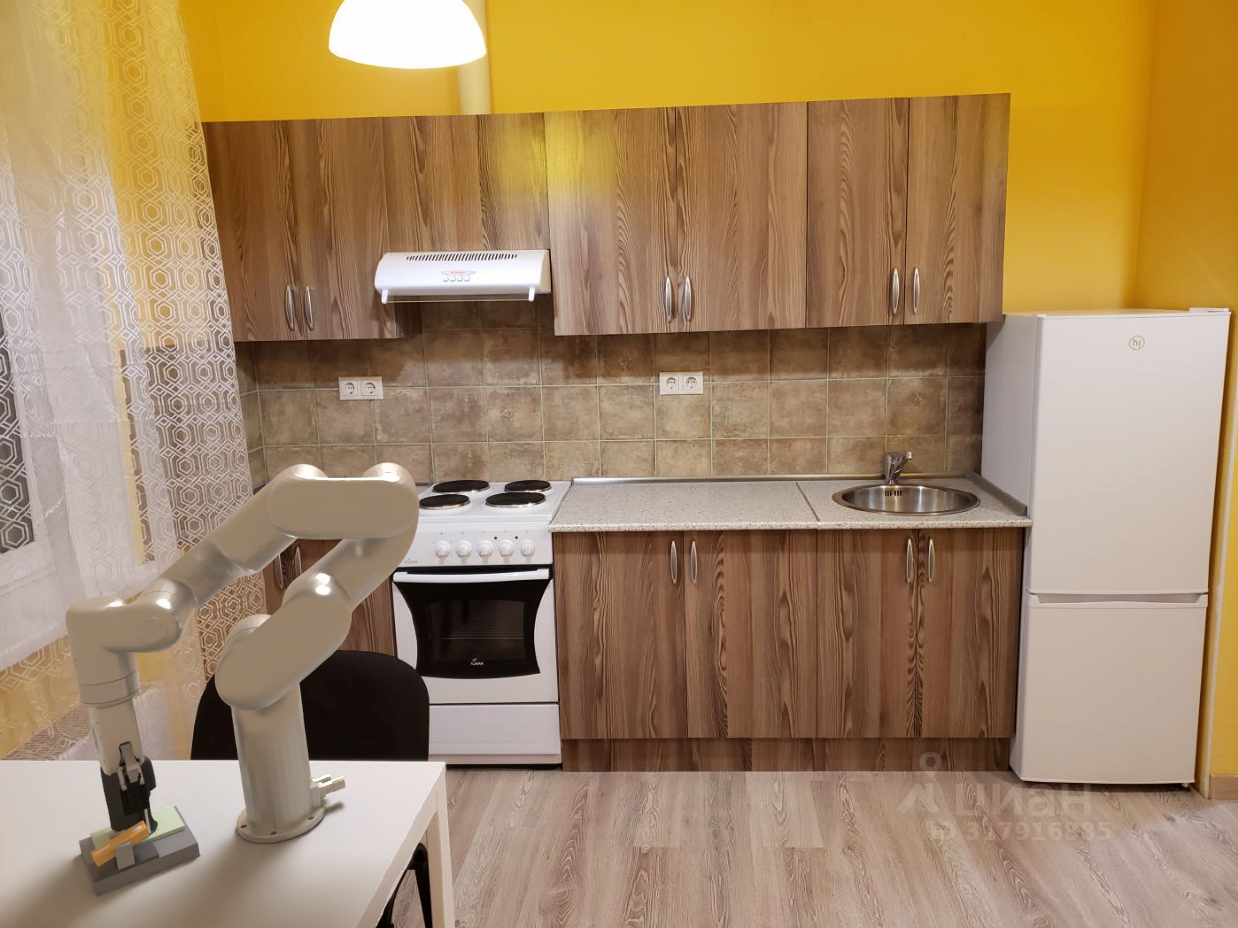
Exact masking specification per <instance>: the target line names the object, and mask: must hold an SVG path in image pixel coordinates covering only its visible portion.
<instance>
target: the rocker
mask: <svg viewBox="0 0 1238 928" xmlns="http://www.w3.org/2000/svg"><path fill="white" fill-rule="evenodd" d="M149 835H150V832H149V830H148V828H147V826H146V825H145V823H144V821H143V820H142V821H141V822H139V823H137V824H136V825H134V826H132V827H131V828H129V829H128V830H126V831H124V832H123V833H121V834H119V835H118V836H116V837H115V838H113V839H111V840H110V841H108V842H106V843H105V844H103V845H101V846H100V847H98V848H97V849H95V850H93V851H92V852H91V855H92V857H93V860H94V862H95V863H96V865H97V867H99V866H100V865H102V864H104V863H105V862H107V861H108V860H110V859H112V858H113V857H115V856H116V855H115V849H114V847H116V846H119V845H121V844H124V843H127V842H130V841H131V844H132V846H133V845H134V844H136V843H137V842H139V841H141V840H142V839H144V838H145V837H147V836H149Z"/></svg>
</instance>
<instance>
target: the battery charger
mask: <svg viewBox="0 0 1238 928" xmlns="http://www.w3.org/2000/svg"><path fill="white" fill-rule="evenodd" d="M143 756H144V762H143V763H142V764H141V765H140V768H141V772H142V775H143V779H144V781H145V784H146V790H147V796H148V801H149V807H148V808H147V809H145V810H142V811H139V812H137V813H134V814H131V815H128V816H125V815H124V814H123V809H122V804H121V798H120V793H119V789H121V785H120V782H119V778H118V774H117V772H116V773H112V775H110V776H109V775H106V774H105V773H104V771H103V769H102V767H101V765H99V766H100V767H99V768H100V779H101V785H102V788H103V793H104V799H105V803H106V806H107V807H106V808H107V813H108V817H109V818H108V819H109V824H110V825H109V826H111V829H112V830H115V831H118V832H120V831H122V830H125V831H126V830H128V829H129V828H131V827H132V826H134V825H136V824H137V823H139V822H141V821H142V820H143V821H144V823H145V825H146V826H147V828H148V830H149V832H150V833H151V832H152V831H154V830H155V829H156V828H157V826H158V822H157V821H155V820H154V819H153V817H152V814H151V811H152V810H151V803H150V801H151V800H150V799H151V798H150V797H151V795H152V793H151V792H152V791H153V790H154V789H156V788H157V780H156V776H155V770H154V766H153V763H152V760H151V759H150V758H149V757H148V756H146V755H144V754H143ZM124 765H125V763H122V764H119V766H120V767H121V766H124ZM126 775H127V771H126V772H123V776H124V778H125V776H126Z"/></svg>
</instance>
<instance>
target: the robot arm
mask: <svg viewBox="0 0 1238 928" xmlns="http://www.w3.org/2000/svg"><path fill="white" fill-rule="evenodd" d="M419 517H420V499H419V496H418V489H417V485H416V482H415V481H414V478H413V476H412V475H411V473H410V472H409V471H408V470H407V469H406V468H404V466H402V465H399V464H397V463H394V462H381V463H379V464H375V465H373V466H371V467H370V468H369V469H367V470H365V471H364V473H363V474H362V476H361V477H345V478H344V477H328V476H327V474H326V473H325V472H324V471H323V470H321V469H320V468H318V467H316V466H314V465H311V464H308V463H299V464H298V463H297V464H294V465H291V466H290V467H287V468H286V469H284V470H282V471H281V472H279V473H278V474H277V475H276V476H274V478H273V479H271V480H270V481H269V482H268V483H267V484H266V485H265V486H263V487H262V488H261V489H260V490H259V491H257V492H256V493H255V494H254V495H253V496H251V497H250V498H249V499H248V500H247V501H246V502H245V503H243V504H242V505H241V506H239V508H237V509H236V510H235V511H233V513H232V514H231V515H230V516H228V517H227V518H226V519H225V520H223V521H222V522H221V523H220V524H219V525H217V526H216V527H215V528H214V529H213V530H211V531H210V532H209V533H208V534H206V536H205V537H204V538H203V539H202V540H200V541H199V542H197V543H196V544H195V545H194V546H193V547H191V548H190V549H189V550H188V551H186V552H185V553H184V554H183V555H182V556H180V557H179V558H178V559H177V560H176V561H175V562H173V563H172V564H171V565H170V566H169V567H168V568H166V569H165V570H164V571H163V572H161V573H160V574H159V575H158V576H157V577H156V578H154V580H152V581H151V582H150V583H149V584H148V585H147V586H146V587H145V588H144V590H143V591H142V592H141V593H140V595H138V598H137V599H136V600H133V601H132V602H131V603H128V604H127V603H126V602H125V601H124V600H123V599H122V598H121V597H119V596H114V595H103V596H102V595H101V596H96V597H90V598H87V599H83V600H79V601H78V602H76V603H74V604H72V605H71V606H70V607H69V608H68V609H67V610H66V611H65V616H64V620H65V627H66V632H67V637H68V643H69V648H70V653H71V657H72V664H73V669H74V674H75V680H76V687H77V691H78V697H79V702H80V705H81V706H83V707H85V708H88V713H89V714H88V715H89V720H90V726H91V734H92V739H93V741H92V742H93V750H94V753H95V756H96V758H97V761H98V763H99V766H101V767H102V769H103V771H104V773H105V774H106V775H109V776H110V775H112V773H116V772H117V774H118V778H119V782H120V785H121V789H119V793H120V798H121V804H122V809H123V814H124V815H125V816H128V815H131V814H134V813H137V812H139V811H142V810H145V809H147V808H148V807H149V801H148V796H147V790H146V784H145V781H144V779H143V775H142V772H141V768H140V765H141V764H142V763H143V762H144V756H145V755H144V750H143V741H142V736H141V731H140V724H139V723H140V722H139V719H138V713H137V709H136V704H135V698H134V697H136V696H137V695H138V694H139V693H141V691H142V687H141V686H142V685H141V679H140V674H139V669H138V668H139V667H138V661H137V657H136V653H139V654H140V653H141V654H151V653H154V654H155V653H160V652H164V651H168V650H169V649H172V648H173V647H174V646H176V645H177V644H178V643H179V641H180V640H181V639H182V638H183V635H184V633H185V631H186V629H187V627H188V625H189V623H190V620H191V619H192V617H193V616H194V615H195V613H197V612H198V611H199V610H200V609H201V608H202V607H203V606H205V604H207V602H209V601H210V600H211V599H212V598H213V597H215V596H216V595H217V594H218V593H219V592H221V591H222V590H223V589H224V588H226V586H228V585H230V584H231V583H233V582H234V581H236V580H237V579H240V578H244V577H248V576H253V575H256V574H258V573H259V572H261V571H262V570H264V569H265V568H266V567H267V566H268V565H269V564H271V562H272V561H274V560H275V559H276V558H278V556H279V555H280V554H281V553H282V552H284V551H285V550H286V549H287V548H288V547H290V546H291V545H292V544H293V543H294V542H295V541H296V540H298V539H302V540H341V541H339V543H337V545H336V546H335V547H333V548H332V549H331V550H330V551H328V552H327V553H326V554H325V555H324V556H323V557H321V558H320V559H319V560H318V561H316V562H315V563H314V564H313V565H311V567H309V568H308V569H307V570H305V571H304V572H303V573H302V574H300V575H298V576H297V577H296V578H295V579H294V580H293V581H292V582H291V583H290V584H289V585H288V587H287V588H286V590H285V592H284V594H283V598H282V602H281V605H280V607H279V608H278V609H277V610H276V611H275V612H273V614H272V615H271V614H266V613H260V614H257V613H256V614H253V615H249V616H247V617H245V618H243V619H242V620H240V621H239V622H237V623H236V624H235V625H234V626H233V627H232V629H231V630H230V631H229V633H228V634H227V636H226V638H225V641H224V643H223V646H222V649H221V651H220V656H219V659H218V661H217V664H216V667H215V672H214V684H215V689H216V691H217V693H218V695H219V697H220V699H221V700H222V701H223V702H224V703H225V704H226V705H228V706H229V707H230V709H231V716H232V723H233V730H234V731H233V732H234V738H235V744H236V745H235V746H236V750H237V759H238V766H239V771H240V772H239V773H240V778H241V784H242V785H241V786H242V792H243V798H244V806H245V808H244V809H242V811H241V812H240V814H238V817H237V819H236V829H237V833H238V834H239V836H240V837H241V838H242V839H244V840H247V841H249V842H254V843H259V844H265V843H266V844H267V843H268V844H269V843H275V842H276V843H277V842H282V841H285V840H290V839H292V838H296V837H297V836H300V835H302V834H305V833H306V832H307V831H309V830H311V829H312V828H314V827H315V826H316V825H317V824H318V823H320V821H321V820H322V819H323V817H324V816H325V815H326V811H327V804H326V800H325V798H326V797H327V795H329V794H331V793H335V792H337V791H340V790H343V789H346V782H345V778H344V777H343V775H339V776H337V777H334V778H331V775H330V774H329V773H326V774H324V775H322V776H320V777H317V778H314V777H312V774H311V773H312V772H311V766H310V760H309V752H308V743H307V735H306V729H305V721H304V712H303V704H302V703H303V702H302V694H301V688H300V687H301V686H300V683H301V682H302V681H303V680H304V679H305V678H307V677H308V676H309V675H311V673H312V672H314V671H315V670H316V669H317V668H318V667H319V666H320V665H322V664H323V663H324V662H325V661H326V660H328V659H329V658H330V657H331V656H332V655H333V654H334V653H335V652H336V651H337V650H338V649H339V647H340V646H341V645H342V644H343V642H344V640H346V638H347V636H348V634H349V632H350V628H351V625H352V618H353V617H352V616H353V615H352V614H353V612H354V611H355V609H356V608H357V607H358V606H359V605H360V604H361V603H362V602H363V601H364V600H365V599H366V598H367V597H369V596H370V595H371V594H372V593H373V592H374V591H375V590H376V589H377V588H379V587H380V585H381V584H383V582H385V580H387V579H388V578H389V577H390V576H391V575H392V574H393V573H394V572H395V570H396V569H398V567H399V566H400V565H401V563H402V562H403V561H404V559H405V557H406V556H407V555H408V553H409V551H410V549H411V547H412V545H413V543H414V540H415V536H416V532H417V528H418V525H419V524H418V523H419ZM143 755H144V756H143ZM122 763H125V765H124V766H121V767H120V766H119V764H122ZM126 771H127V775H126V776H125V778H124V776H123V772H126Z"/></svg>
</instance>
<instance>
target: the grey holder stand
mask: <svg viewBox="0 0 1238 928" xmlns="http://www.w3.org/2000/svg"><path fill="white" fill-rule="evenodd" d="M151 814H152V817H153V819H154V820H155V821H157V822H158V826H157V828H156V829H155V830H154V831H152V832H151V833H150V835H149V836H147V837H145V838H144V839H142V840H141V841H139V842H137V843H136V844H134V845H133V846H132V844H131V841H130V842H127V843H124V844H121V845H119V846H116V847H114V849H115V855H116V856H115V857H113V858H112V859H110V860H108V861H107V862H105V863H104V864H102V865H100V866H99V867H97V865H96V863H95V862H94V860H93V857H92V855H91V852H92V851H93V850H95V849H97V848H98V847H100V846H101V845H103V844H105V843H106V842H108V841H110V840H111V839H113V838H115V837H116V836H118V835H119V834H121V833H123V832H124V831H125V830H122V831H120V832H118V831H115V830H112V829H111V825H109V826H107V827H103V828H101V829H98V830H96V831H92V832H90V833H89V835H90V836H89V837H86V838H82V839H80V840H78V845H79V850H80V854H81V857H82V859H83V862H84V866H85V867H86V869H87V872H88V876H89V878H90V881H91V883H92V887H93V890H94V892H95V895H96V897H99V896H101V895H104V894H106V893H108V892H111V891H114V890H117V889H118V888H121V887H124V886H126V885H129V884H131V883H134V882H137V881H139V880H141V879H145V878H146V877H149V876H151V875H154V874H156V873H159V872H162V871H164V870H167V869H169V868H172V867H174V866H176V865H179V864H181V863H184V862H186V861H189V860H192V859H194V858H197V857H200V855H201V854H200V848H199V843H198V841H197V839H196V837H195V835H194V834H193V832H192V830H191V829H190V827H189V825H188V824H187V822H186V820H185V818H184V817H183V815H182V813H181V812H180V810H179V808H178V807H177V805H174V804H172V803H170V804H168V805H164V806H163V807H160V808H157V809H153V810H151Z"/></svg>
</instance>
